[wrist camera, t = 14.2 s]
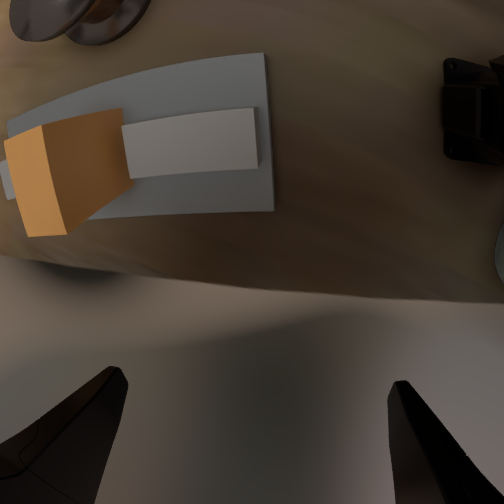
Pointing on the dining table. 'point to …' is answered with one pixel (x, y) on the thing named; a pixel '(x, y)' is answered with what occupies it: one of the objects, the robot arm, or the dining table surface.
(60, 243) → the dining table surface
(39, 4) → the grey and brown spool
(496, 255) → the grey green pot
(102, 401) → the robot arm
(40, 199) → the orange tab
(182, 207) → the notched board
